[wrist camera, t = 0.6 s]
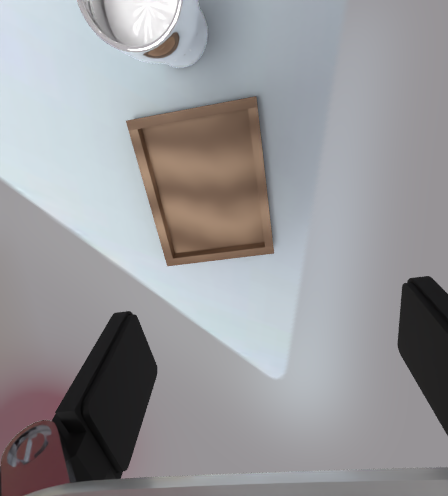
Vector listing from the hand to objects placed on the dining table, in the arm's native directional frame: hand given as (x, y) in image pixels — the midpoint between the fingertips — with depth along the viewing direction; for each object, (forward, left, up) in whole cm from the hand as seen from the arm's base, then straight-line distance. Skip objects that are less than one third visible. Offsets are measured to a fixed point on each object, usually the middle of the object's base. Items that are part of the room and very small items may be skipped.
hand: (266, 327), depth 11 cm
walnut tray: (+2, -6, -29) cm, 29 cm away
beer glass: (-14, -6, -29) cm, 33 cm away
